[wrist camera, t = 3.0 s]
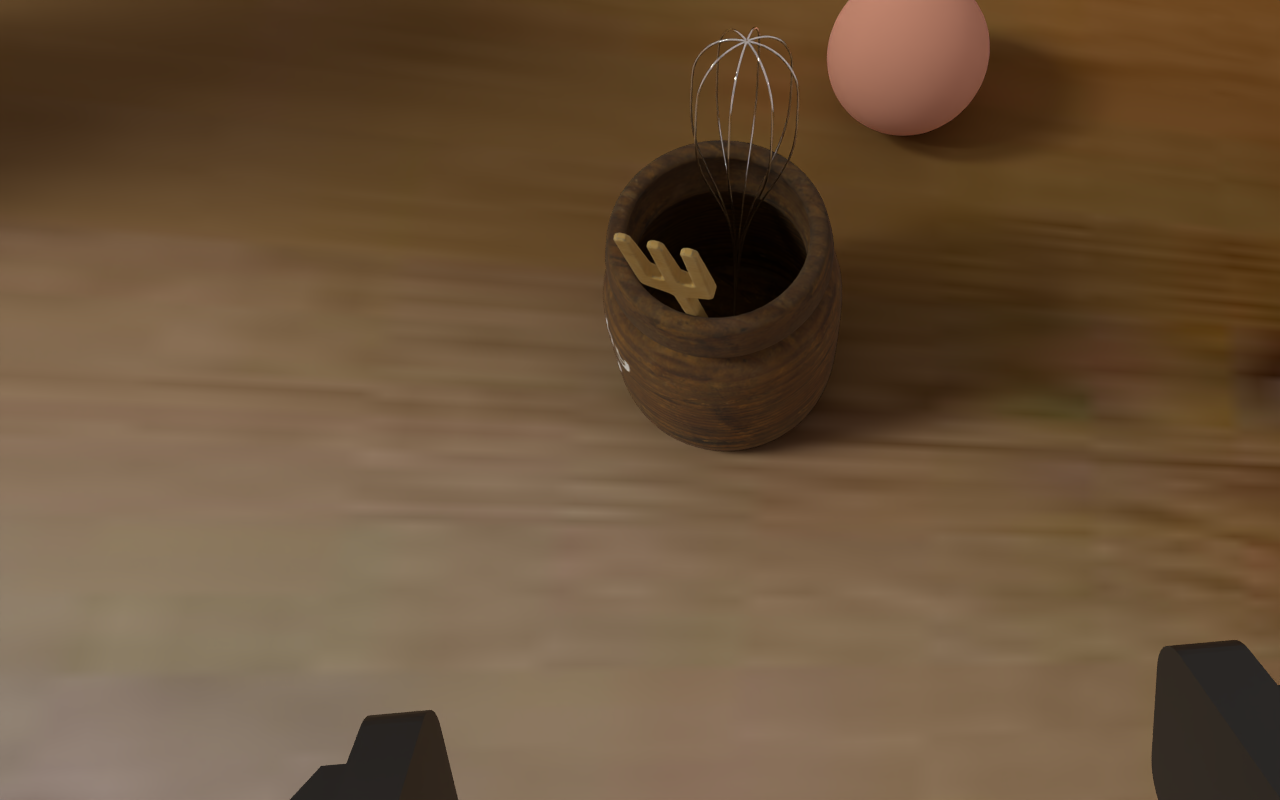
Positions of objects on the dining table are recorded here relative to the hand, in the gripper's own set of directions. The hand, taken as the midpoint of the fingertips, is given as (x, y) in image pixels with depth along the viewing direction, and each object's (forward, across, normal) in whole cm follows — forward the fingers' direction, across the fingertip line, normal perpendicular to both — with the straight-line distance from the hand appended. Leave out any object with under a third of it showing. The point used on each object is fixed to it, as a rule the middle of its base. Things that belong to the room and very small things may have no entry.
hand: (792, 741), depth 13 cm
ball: (+23, -6, -4) cm, 24 cm away
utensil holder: (+20, 0, +3) cm, 20 cm away
